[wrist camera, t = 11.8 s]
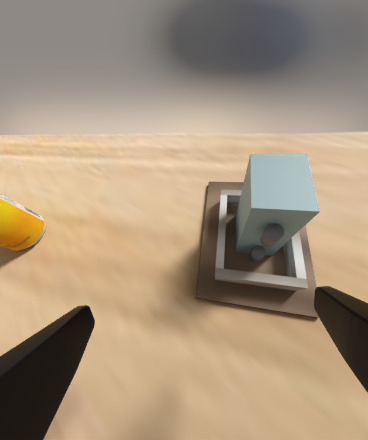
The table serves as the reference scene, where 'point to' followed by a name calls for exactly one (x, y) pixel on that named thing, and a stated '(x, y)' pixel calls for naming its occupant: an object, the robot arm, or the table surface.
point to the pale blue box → (274, 203)
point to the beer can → (19, 225)
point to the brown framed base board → (251, 262)
